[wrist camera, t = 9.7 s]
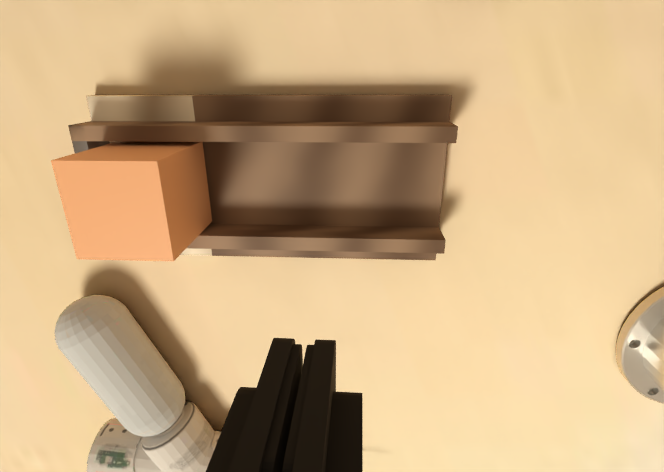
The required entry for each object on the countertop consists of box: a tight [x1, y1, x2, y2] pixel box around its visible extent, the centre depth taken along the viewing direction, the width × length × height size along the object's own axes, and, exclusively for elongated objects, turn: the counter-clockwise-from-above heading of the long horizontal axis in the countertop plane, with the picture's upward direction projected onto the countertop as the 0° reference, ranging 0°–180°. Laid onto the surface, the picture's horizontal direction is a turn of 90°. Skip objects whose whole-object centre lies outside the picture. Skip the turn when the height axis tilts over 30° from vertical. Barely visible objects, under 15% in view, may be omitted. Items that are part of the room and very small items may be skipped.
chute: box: [69, 95, 458, 260], centre depth 29 cm, size 25×12×4 cm, turn 90°
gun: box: [55, 295, 221, 472], centre depth 38 cm, size 6×29×30 cm
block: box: [51, 141, 212, 261], centre depth 27 cm, size 6×6×7 cm
